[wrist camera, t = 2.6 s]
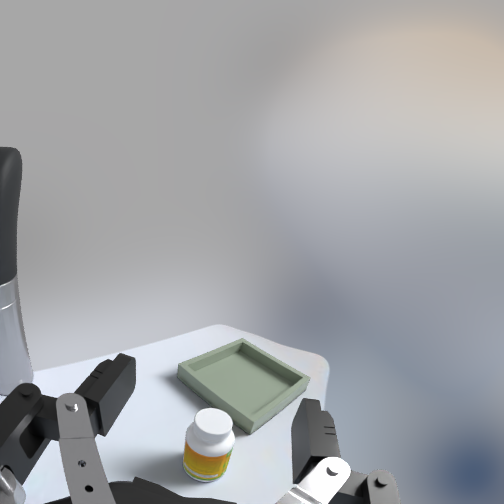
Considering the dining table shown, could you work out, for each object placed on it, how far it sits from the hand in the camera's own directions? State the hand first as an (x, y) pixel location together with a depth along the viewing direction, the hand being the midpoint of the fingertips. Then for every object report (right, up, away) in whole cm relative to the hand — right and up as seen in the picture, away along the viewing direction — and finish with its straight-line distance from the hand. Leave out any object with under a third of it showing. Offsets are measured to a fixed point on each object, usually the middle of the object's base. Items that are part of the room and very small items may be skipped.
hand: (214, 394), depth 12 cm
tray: (0, -16, +34) cm, 38 cm away
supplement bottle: (-4, -20, +17) cm, 26 cm away
